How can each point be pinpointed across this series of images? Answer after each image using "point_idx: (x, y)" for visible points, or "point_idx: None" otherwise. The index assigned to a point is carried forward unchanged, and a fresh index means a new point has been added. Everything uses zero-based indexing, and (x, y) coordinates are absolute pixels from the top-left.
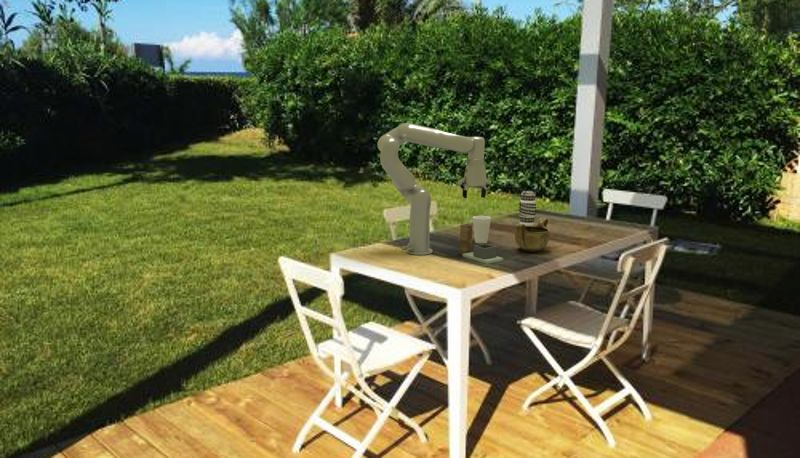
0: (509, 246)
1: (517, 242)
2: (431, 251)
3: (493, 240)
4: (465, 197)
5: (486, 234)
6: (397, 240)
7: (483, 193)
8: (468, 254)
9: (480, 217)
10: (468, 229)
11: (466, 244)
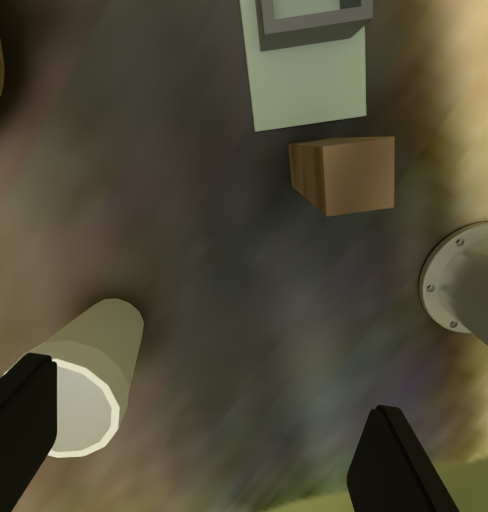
0: (24, 190)
1: (1, 60)
2: (456, 236)
3: (44, 325)
4: (402, 414)
5: (87, 315)
6: None
7: (7, 426)
8: (348, 87)
9: None
10: (355, 140)
11: (338, 138)
